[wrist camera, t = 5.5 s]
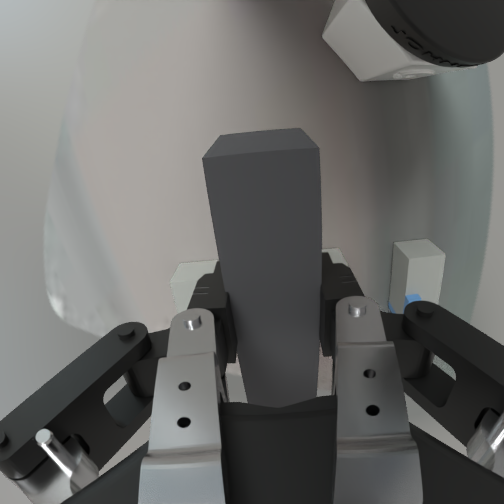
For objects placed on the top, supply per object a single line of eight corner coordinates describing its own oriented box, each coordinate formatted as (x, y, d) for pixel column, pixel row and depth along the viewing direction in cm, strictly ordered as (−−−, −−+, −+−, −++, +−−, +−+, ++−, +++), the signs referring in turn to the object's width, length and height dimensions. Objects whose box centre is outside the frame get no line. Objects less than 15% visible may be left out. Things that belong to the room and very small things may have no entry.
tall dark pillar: (214, 136, 11) (193, 161, 8) (305, 127, 11) (328, 148, 8) (255, 391, 19) (254, 449, 15) (309, 387, 18) (316, 444, 15)
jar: (332, 86, 21) (393, 60, 10) (309, -6, 18) (342, -88, 7) (433, 82, 20) (532, 73, 9) (410, -5, 17) (489, -56, 6)
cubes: (179, 263, 27) (166, 288, 23) (427, 238, 25) (450, 258, 21) (195, 325, 30) (186, 355, 26) (419, 301, 28) (438, 327, 24)
